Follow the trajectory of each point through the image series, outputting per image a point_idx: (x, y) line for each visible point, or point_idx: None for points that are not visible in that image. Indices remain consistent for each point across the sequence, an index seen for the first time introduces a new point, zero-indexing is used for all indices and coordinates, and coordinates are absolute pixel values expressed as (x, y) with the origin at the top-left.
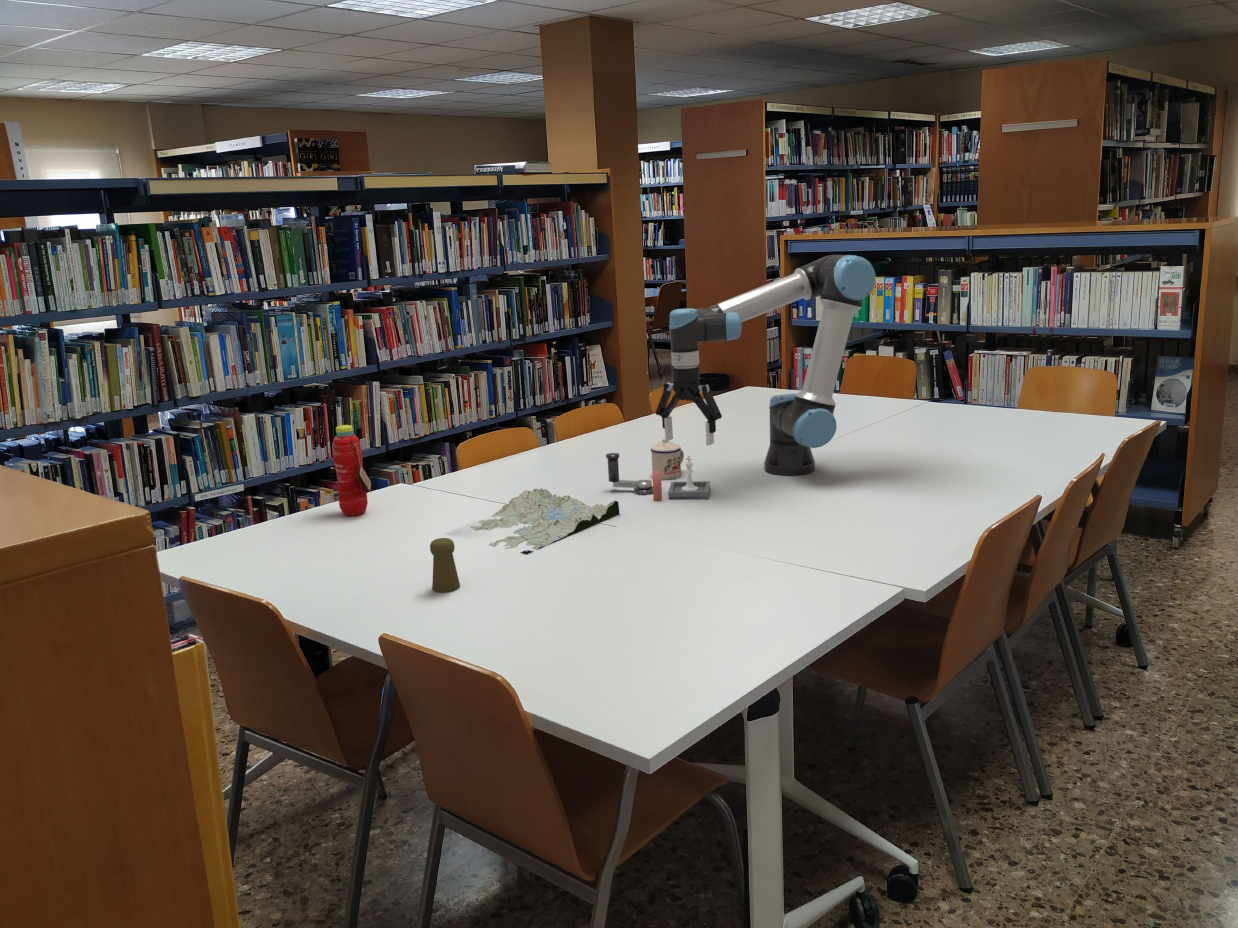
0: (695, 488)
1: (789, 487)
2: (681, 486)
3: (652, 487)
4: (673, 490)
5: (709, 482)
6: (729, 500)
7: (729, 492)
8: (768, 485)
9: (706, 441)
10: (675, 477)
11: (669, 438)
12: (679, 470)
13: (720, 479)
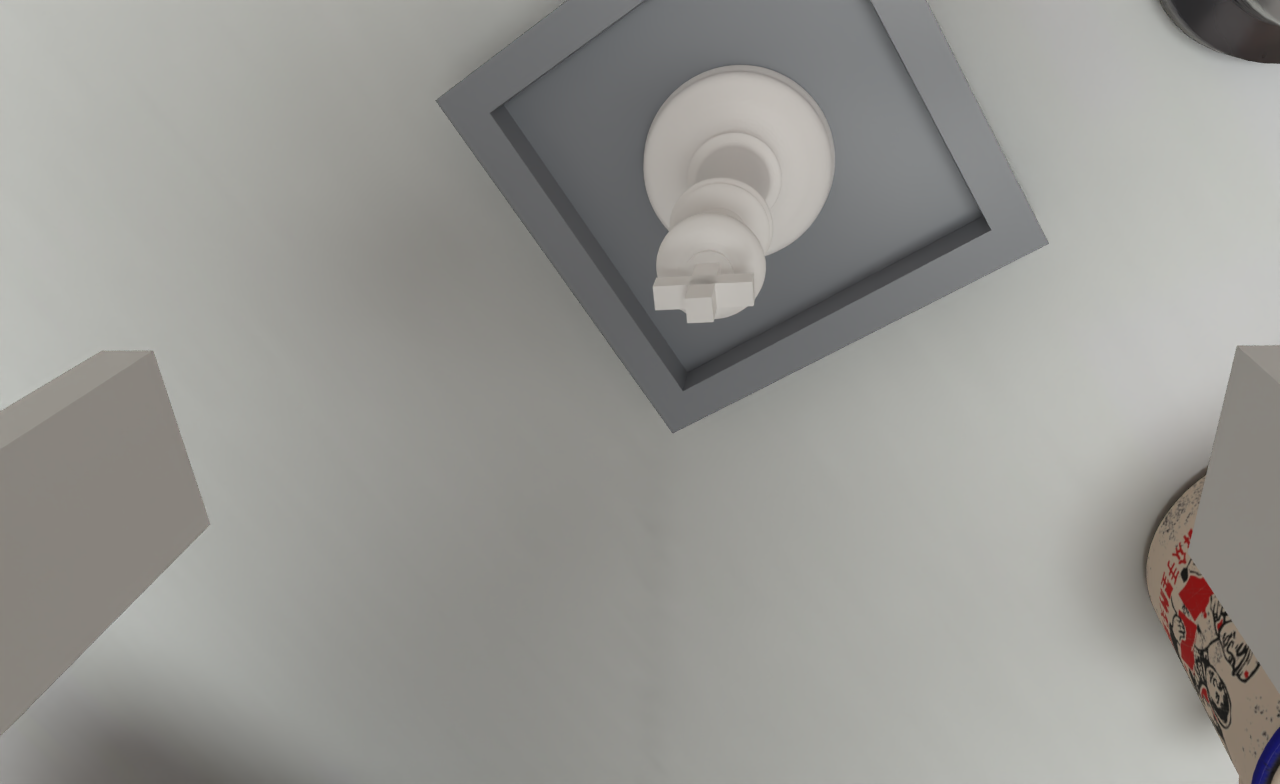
0: (657, 172)
1: (208, 639)
2: (911, 254)
3: (1224, 20)
4: (901, 61)
5: (657, 408)
6: (284, 157)
7: (450, 364)
8: (346, 629)
9: (94, 386)
10: (1164, 520)
11: (1239, 450)
12: (1165, 612)
13: (750, 633)
